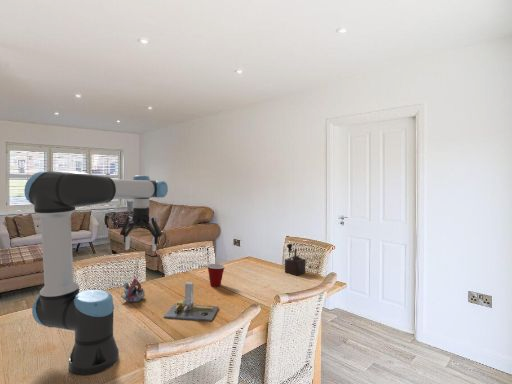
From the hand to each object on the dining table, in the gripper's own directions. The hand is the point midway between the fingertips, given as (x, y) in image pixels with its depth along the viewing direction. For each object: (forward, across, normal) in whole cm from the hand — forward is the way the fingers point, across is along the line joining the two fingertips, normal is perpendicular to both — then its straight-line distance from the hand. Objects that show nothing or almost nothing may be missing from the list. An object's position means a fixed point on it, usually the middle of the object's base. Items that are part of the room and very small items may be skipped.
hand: (140, 250), depth 154 cm
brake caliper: (+27, +6, -4) cm, 28 cm away
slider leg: (+26, -26, +6) cm, 37 cm away
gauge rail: (+27, -28, +7) cm, 40 cm away
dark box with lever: (+27, -78, -65) cm, 105 cm away
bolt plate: (+27, -28, +7) cm, 40 cm away
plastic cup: (+27, -32, -31) cm, 52 cm away
